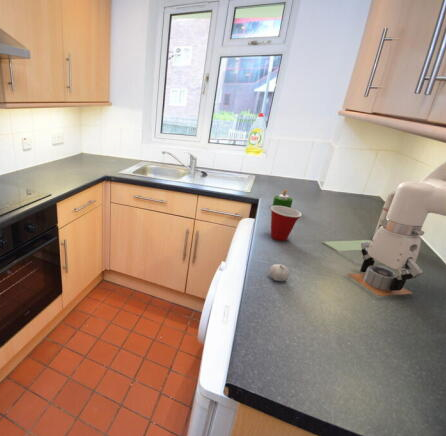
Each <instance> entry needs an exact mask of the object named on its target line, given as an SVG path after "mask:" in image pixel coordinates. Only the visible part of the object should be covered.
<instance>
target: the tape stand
mask: <svg viewBox="0 0 446 436" xmlns="http://www.w3.org/2000/svg"><path fill="white" fill-rule="evenodd" d="M365 273H366V272H359V273H346V275H347V276H348V277H350V278H351V279H353V280H354V281H355V282H357V283H359V284H361V285H362V286H363V287H365V288H367V289H368V290H369V291H370V292H372V293H374V294H375V295H377V296H378V297H381V296H383V297H385V296H397V295H412V294H414V293H413V292H412V291H410V290H409V289H407V288H405V287H403V288H402V289H401V290H399V291H391V290H383V289H379V288H375V287H373V286H371V285H369V284H367V283H366V282H365V281H364V279H363V278H364V276H365ZM377 273H378V274H381V275H383V276H388V274H387V273H386V272H383V271H377Z"/></svg>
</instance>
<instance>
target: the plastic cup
mask: <svg viewBox="0 0 446 436" xmlns="http://www.w3.org/2000/svg"><path fill="white" fill-rule="evenodd" d="M270 212H271V214H270V217H271V218H270V237H271V239H272V240H275V241H278V242H279V241H280V242H286V241H287V240H288V239H289V237H290V234H291V232H292V231H293V228H294V227H295V224H296V222H297V221H298V220H299V219H300V218H301V217H302V216H303V214H302V213H301V211H299V210H297V209H295V208H292V207H291V208H289V207H284V206H272V205H271V206H270Z"/></svg>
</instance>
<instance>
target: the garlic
mask: <svg viewBox="0 0 446 436" xmlns="http://www.w3.org/2000/svg"><path fill="white" fill-rule="evenodd" d="M290 273H291V271H290V270H289V268H287V266H285V265H283V264H279V263H276V264H273V265H271V266H270V268H269V276H270V277H271V278H272V279H273V280H274V281H276V282H284V281H287V280H288V278H289V277H290V275H291V274H290Z"/></svg>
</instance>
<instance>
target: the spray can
mask: <svg viewBox="0 0 446 436" xmlns="http://www.w3.org/2000/svg"><path fill="white" fill-rule="evenodd" d="M395 193H396V190H395V191H394V190H392V191H391V192H390V193H388V195H387V197H386V199H385V202H384V204H383V207H382V210H381V213H380V216H379V219H378V222H377V225H376V227H375V231H374V234H373V237H374V236H375V234H376V232H377V231H378V229H379V228H380V227H381V226H383V224H384V221H385V219H386V216H387V214H388V211H389V208H390V206H391V203H392V201H393V198H394V195H395ZM373 237H372V239H373Z"/></svg>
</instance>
